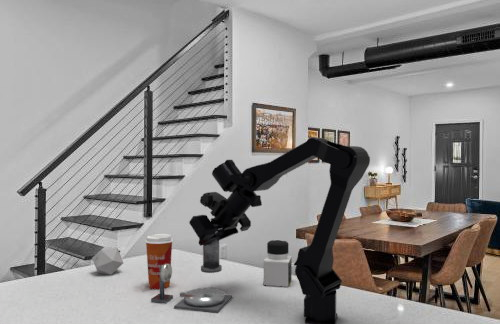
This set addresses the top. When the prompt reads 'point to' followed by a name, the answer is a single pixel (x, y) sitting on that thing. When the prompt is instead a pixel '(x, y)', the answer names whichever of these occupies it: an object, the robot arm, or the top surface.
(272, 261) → the medicine bottle
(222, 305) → the turntable base
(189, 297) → the platter
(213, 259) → the cylinder with brass cap
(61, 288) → the top surface
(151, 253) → the paper cup
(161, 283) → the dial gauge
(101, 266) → the die
